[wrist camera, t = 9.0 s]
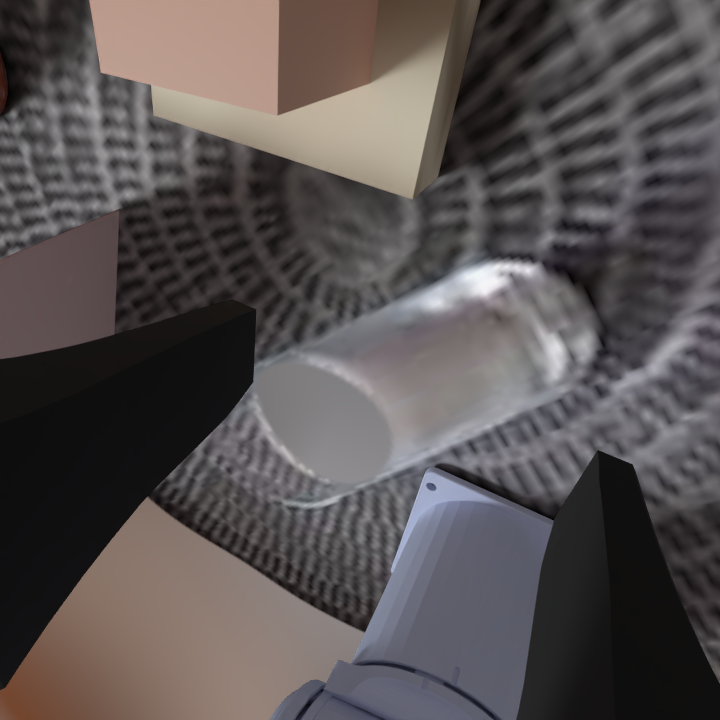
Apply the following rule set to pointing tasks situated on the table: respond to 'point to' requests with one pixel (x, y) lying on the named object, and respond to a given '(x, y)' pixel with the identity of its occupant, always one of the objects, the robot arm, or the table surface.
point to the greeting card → (60, 290)
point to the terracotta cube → (240, 48)
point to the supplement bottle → (3, 85)
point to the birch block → (363, 104)
